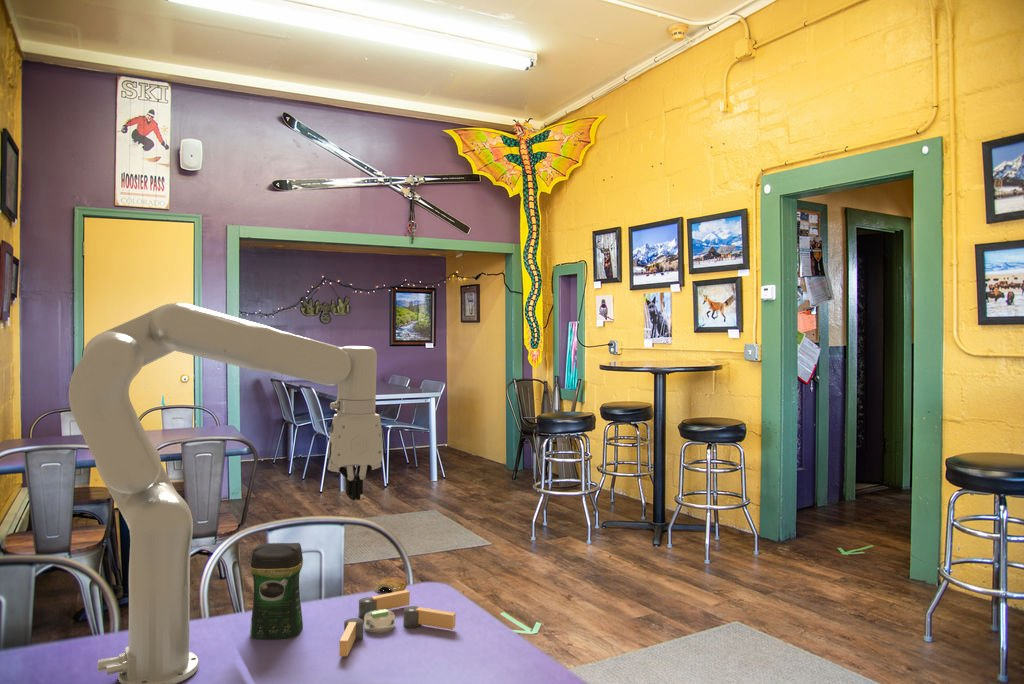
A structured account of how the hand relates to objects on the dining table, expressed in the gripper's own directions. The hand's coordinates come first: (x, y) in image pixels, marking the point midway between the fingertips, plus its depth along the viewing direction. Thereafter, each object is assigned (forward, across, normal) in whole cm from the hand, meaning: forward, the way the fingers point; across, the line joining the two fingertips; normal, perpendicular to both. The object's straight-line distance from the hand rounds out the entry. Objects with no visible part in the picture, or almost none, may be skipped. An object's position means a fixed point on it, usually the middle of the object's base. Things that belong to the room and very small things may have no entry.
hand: (354, 498), depth 145 cm
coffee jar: (+27, -14, +2) cm, 30 cm away
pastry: (+27, +14, +14) cm, 33 cm away
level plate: (+26, +4, -5) cm, 27 cm away
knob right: (+25, +13, -10) cm, 30 cm away
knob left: (+25, -4, -11) cm, 27 cm away
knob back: (+25, +7, +1) cm, 26 cm away
